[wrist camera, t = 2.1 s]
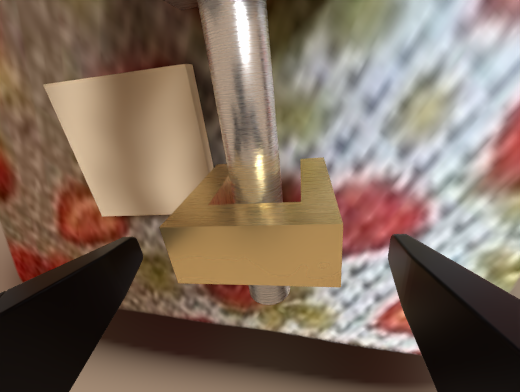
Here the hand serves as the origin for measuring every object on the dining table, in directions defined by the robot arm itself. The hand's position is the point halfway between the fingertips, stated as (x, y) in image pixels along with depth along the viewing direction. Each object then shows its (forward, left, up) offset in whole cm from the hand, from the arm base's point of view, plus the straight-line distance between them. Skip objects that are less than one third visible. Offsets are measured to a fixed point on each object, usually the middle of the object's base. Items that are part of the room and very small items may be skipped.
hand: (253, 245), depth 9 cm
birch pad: (+9, -2, -8) cm, 12 cm away
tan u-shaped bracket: (0, 0, -6) cm, 6 cm away
